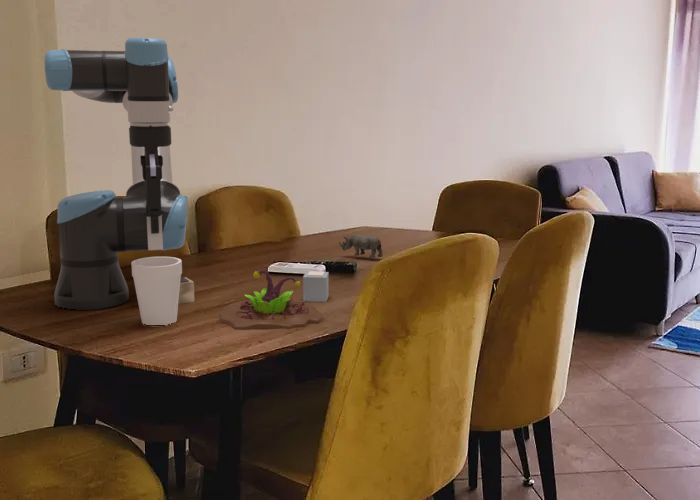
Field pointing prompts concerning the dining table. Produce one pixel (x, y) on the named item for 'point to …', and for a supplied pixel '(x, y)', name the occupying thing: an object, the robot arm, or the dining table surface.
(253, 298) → the plant
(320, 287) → the tile block
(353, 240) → the rhino figurine
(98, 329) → the dining table surface
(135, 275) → the foam cup
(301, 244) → the dining table surface
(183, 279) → the tile block
